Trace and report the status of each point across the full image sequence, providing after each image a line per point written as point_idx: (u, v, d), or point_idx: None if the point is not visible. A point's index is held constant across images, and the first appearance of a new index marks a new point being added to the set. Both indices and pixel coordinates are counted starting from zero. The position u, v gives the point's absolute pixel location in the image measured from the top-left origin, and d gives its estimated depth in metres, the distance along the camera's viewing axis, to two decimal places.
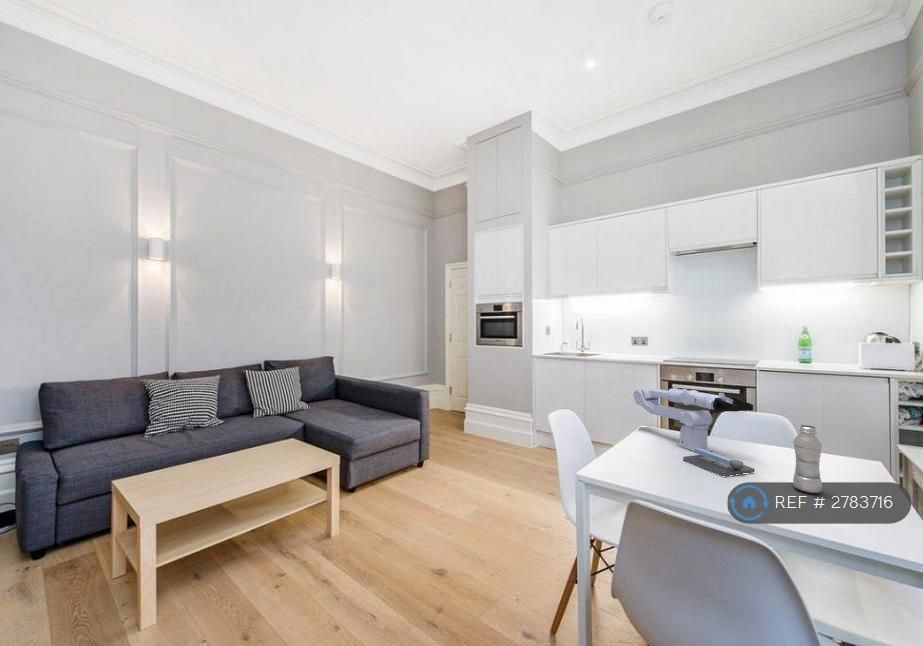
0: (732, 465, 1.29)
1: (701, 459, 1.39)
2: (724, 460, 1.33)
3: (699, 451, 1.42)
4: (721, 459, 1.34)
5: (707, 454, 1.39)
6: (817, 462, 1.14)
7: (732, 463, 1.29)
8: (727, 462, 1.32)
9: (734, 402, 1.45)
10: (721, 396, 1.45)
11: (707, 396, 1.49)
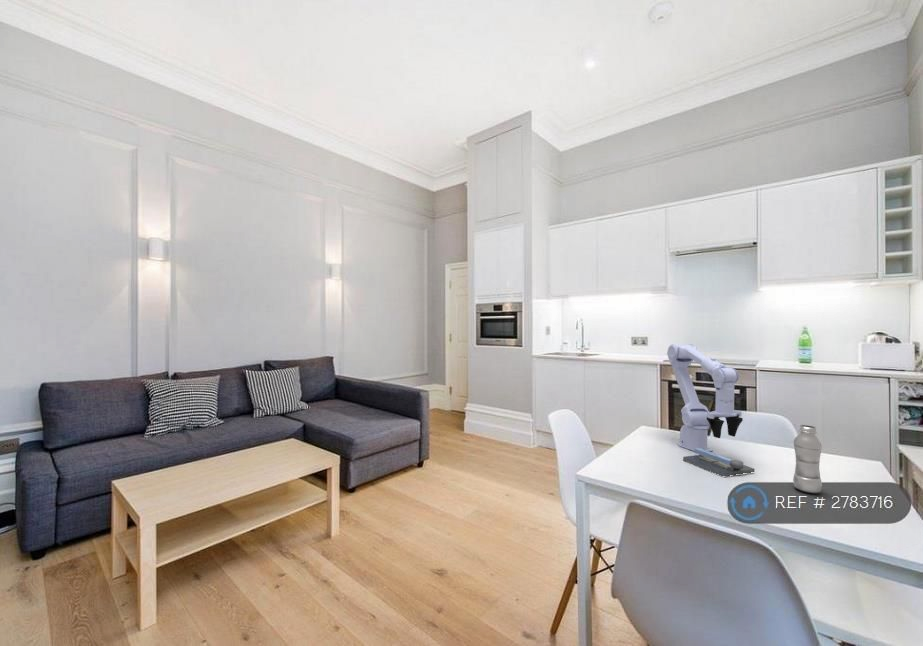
0: (732, 465, 1.29)
1: (701, 459, 1.39)
2: (724, 460, 1.33)
3: (699, 451, 1.42)
4: (721, 459, 1.34)
5: (707, 454, 1.39)
6: (817, 462, 1.14)
7: (732, 463, 1.29)
8: (727, 462, 1.32)
9: (733, 418, 1.42)
10: (730, 415, 1.39)
11: (726, 402, 1.39)
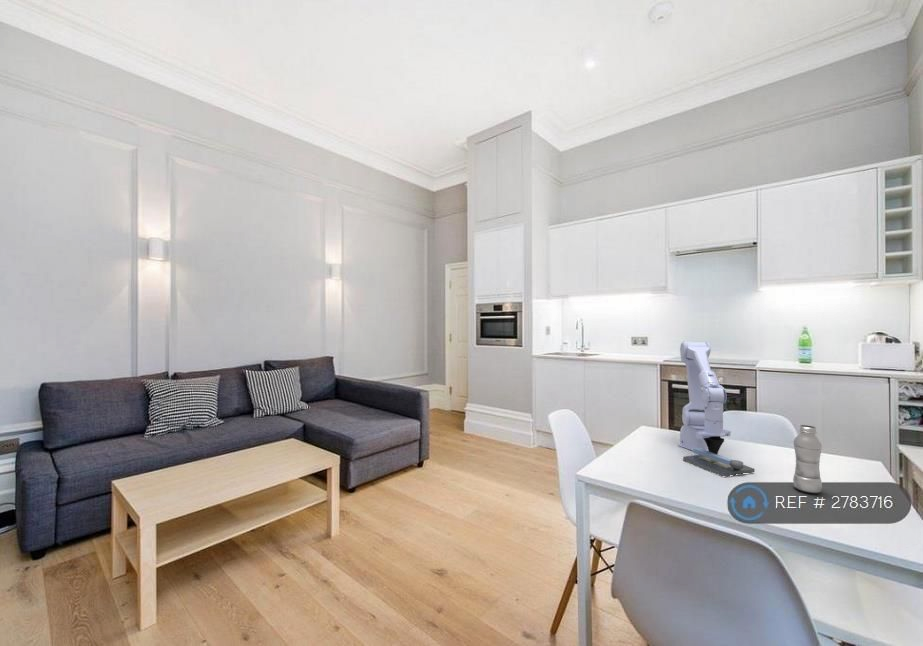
0: (732, 465, 1.29)
1: (701, 459, 1.39)
2: (724, 460, 1.33)
3: (698, 451, 1.42)
4: (721, 459, 1.34)
5: (706, 454, 1.39)
6: (817, 462, 1.14)
7: (732, 463, 1.29)
8: (727, 462, 1.32)
9: None
10: (719, 436, 1.37)
11: (715, 422, 1.37)
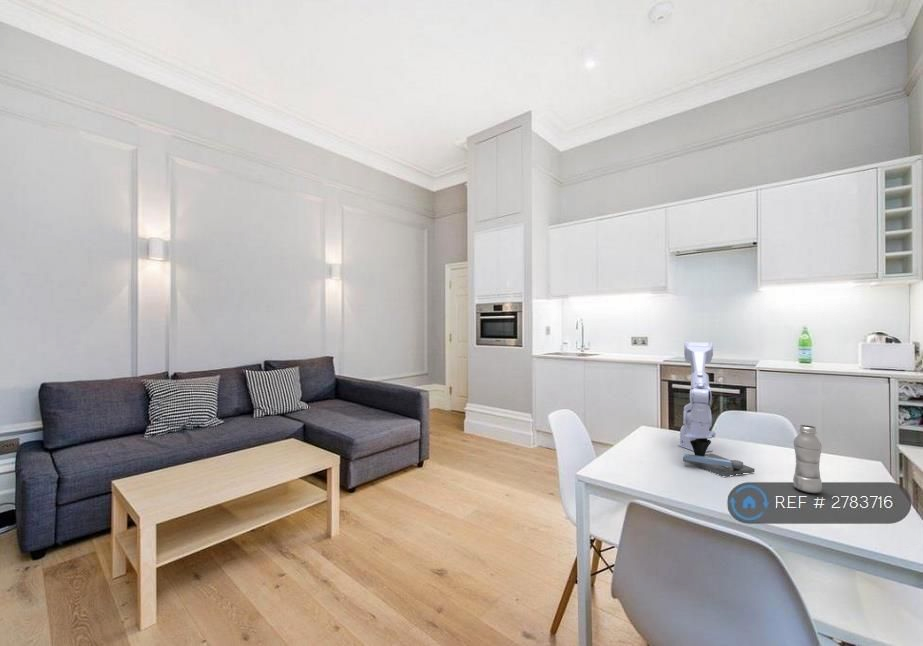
0: (737, 466, 1.28)
1: None
2: (725, 462, 1.30)
3: (691, 457, 1.35)
4: (721, 462, 1.31)
5: (702, 459, 1.34)
6: (817, 462, 1.14)
7: (736, 464, 1.28)
8: (728, 464, 1.30)
9: None
10: (706, 438, 1.35)
11: (702, 424, 1.35)
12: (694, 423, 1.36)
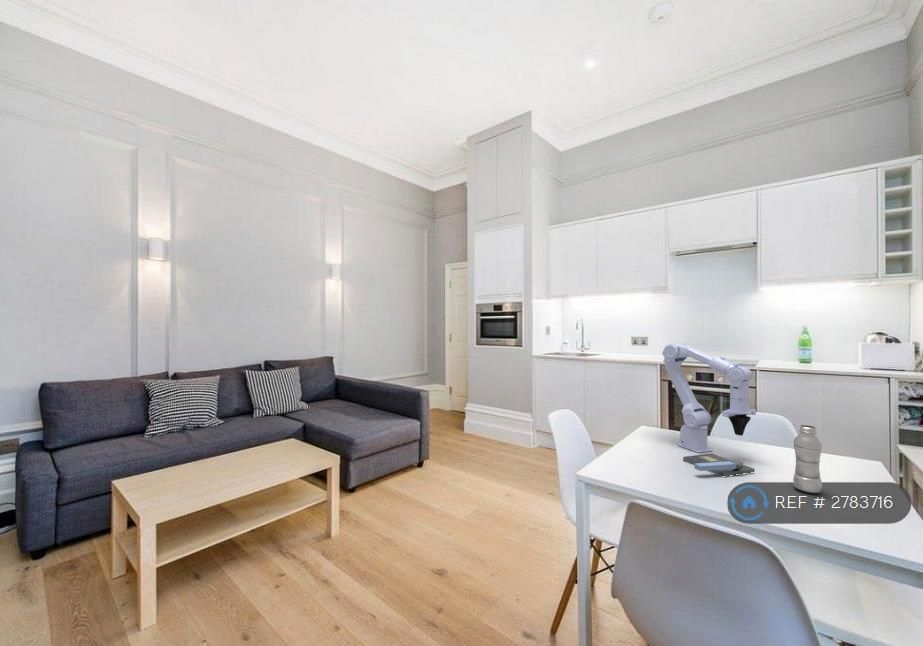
0: (741, 467, 1.28)
1: (701, 459, 1.39)
2: (731, 465, 1.28)
3: (706, 467, 1.26)
4: (728, 465, 1.28)
5: (714, 466, 1.27)
6: (817, 462, 1.14)
7: (740, 465, 1.28)
8: (734, 466, 1.28)
9: None
10: (745, 414, 1.39)
11: (741, 401, 1.40)
12: (733, 400, 1.42)
